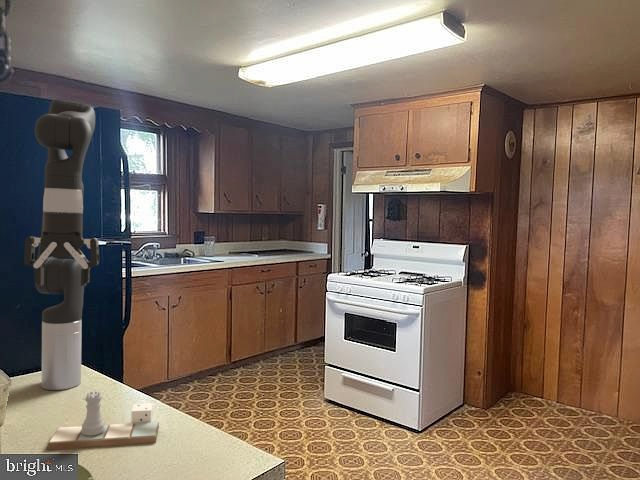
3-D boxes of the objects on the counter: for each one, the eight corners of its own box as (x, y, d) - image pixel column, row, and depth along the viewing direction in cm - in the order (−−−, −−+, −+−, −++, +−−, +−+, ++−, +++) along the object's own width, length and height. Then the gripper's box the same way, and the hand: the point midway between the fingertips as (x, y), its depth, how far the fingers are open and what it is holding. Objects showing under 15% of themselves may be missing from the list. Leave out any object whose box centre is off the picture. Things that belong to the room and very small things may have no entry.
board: (58, 433, 102) (58, 426, 102) (158, 427, 107) (158, 421, 107) (47, 449, 96) (47, 442, 96) (155, 442, 100) (156, 435, 100)
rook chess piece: (95, 438, 98) (96, 399, 98) (76, 435, 99) (76, 396, 99) (109, 428, 102) (110, 391, 102) (90, 426, 103) (91, 388, 103)
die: (133, 421, 110) (134, 403, 110) (152, 420, 111) (153, 402, 110) (131, 429, 106) (131, 410, 106) (150, 428, 107) (151, 410, 106)
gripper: (19, 209, 100) (19, 288, 101) (95, 211, 103) (94, 288, 104) (32, 209, 107) (31, 282, 108) (102, 211, 111) (101, 283, 112)
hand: (62, 285), depth 106 cm, fingers open, 8 cm apart
